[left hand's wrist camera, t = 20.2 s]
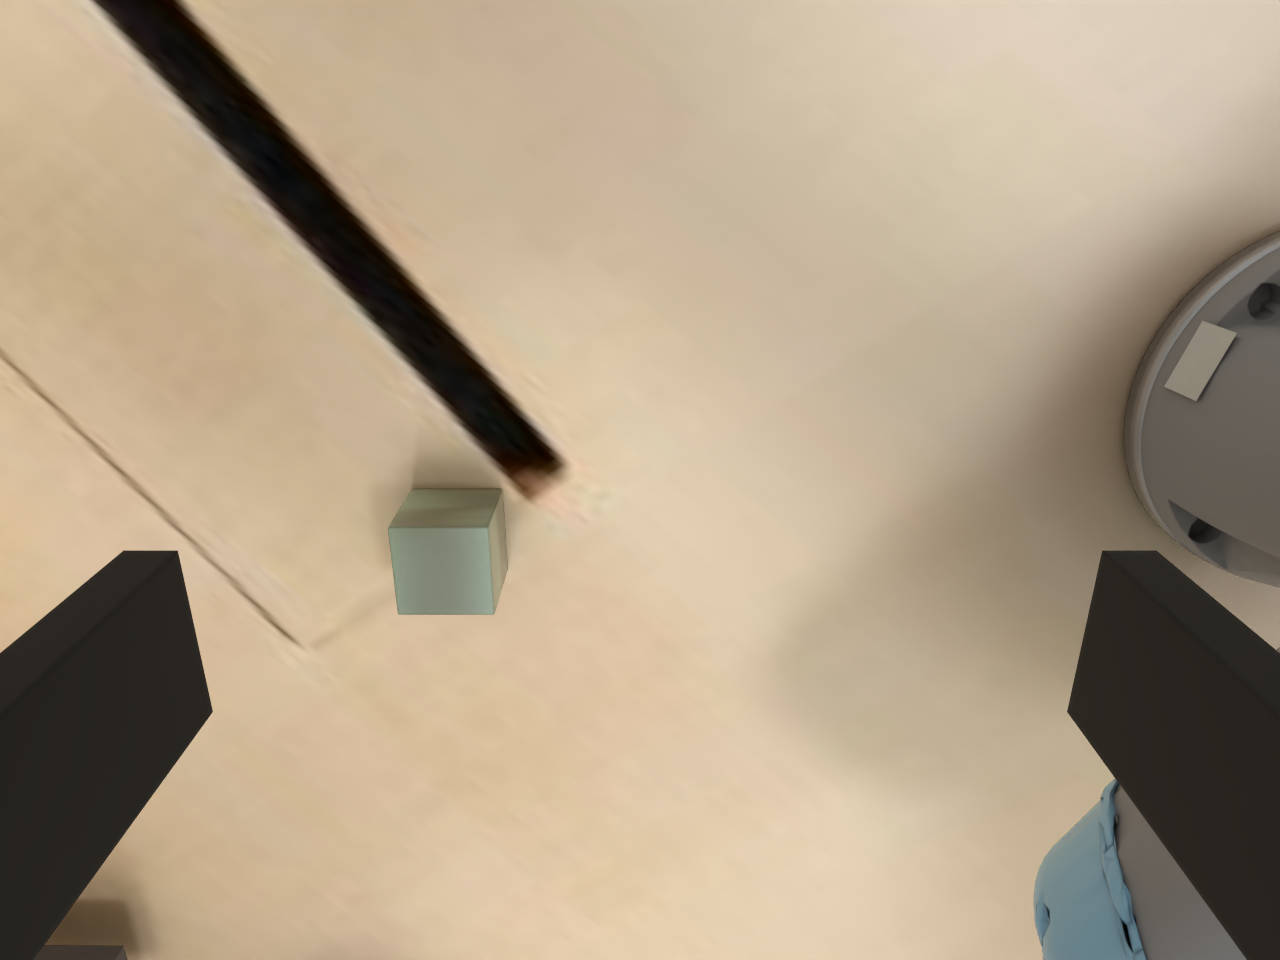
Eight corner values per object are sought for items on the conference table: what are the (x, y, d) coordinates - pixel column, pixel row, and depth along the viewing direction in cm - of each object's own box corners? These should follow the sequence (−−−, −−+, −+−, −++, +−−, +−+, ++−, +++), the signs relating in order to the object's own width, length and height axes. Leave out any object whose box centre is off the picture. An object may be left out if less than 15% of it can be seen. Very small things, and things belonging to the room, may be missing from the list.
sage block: (502, 488, 39) (488, 527, 35) (507, 569, 40) (494, 615, 37) (411, 488, 39) (387, 527, 35) (419, 569, 40) (397, 615, 37)
